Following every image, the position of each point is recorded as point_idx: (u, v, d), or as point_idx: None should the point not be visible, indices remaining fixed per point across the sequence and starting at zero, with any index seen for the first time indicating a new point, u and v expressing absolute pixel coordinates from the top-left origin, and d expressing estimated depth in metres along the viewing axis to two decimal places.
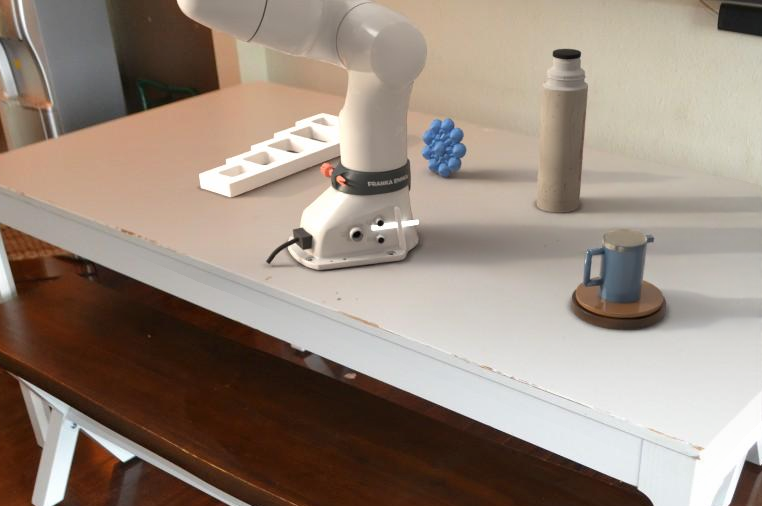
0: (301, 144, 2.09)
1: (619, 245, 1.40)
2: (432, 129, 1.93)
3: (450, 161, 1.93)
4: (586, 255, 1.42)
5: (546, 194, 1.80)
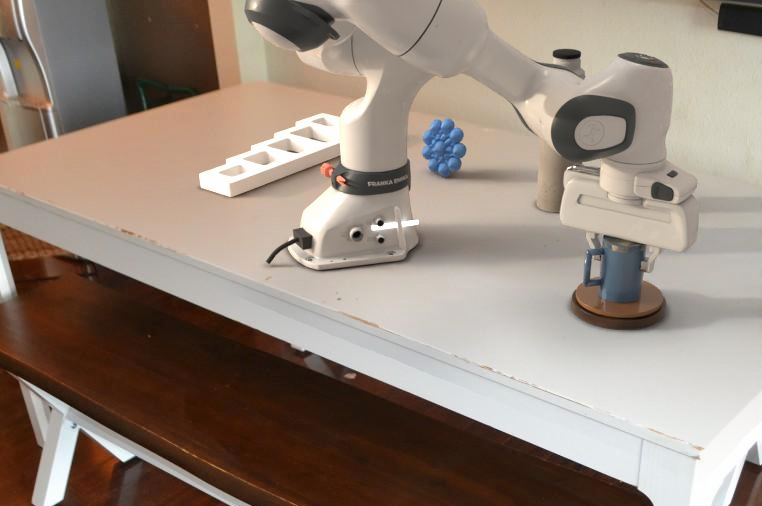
0: (301, 143, 2.09)
1: (619, 245, 1.40)
2: (432, 129, 1.93)
3: (450, 161, 1.93)
4: (586, 255, 1.42)
5: (546, 194, 1.80)
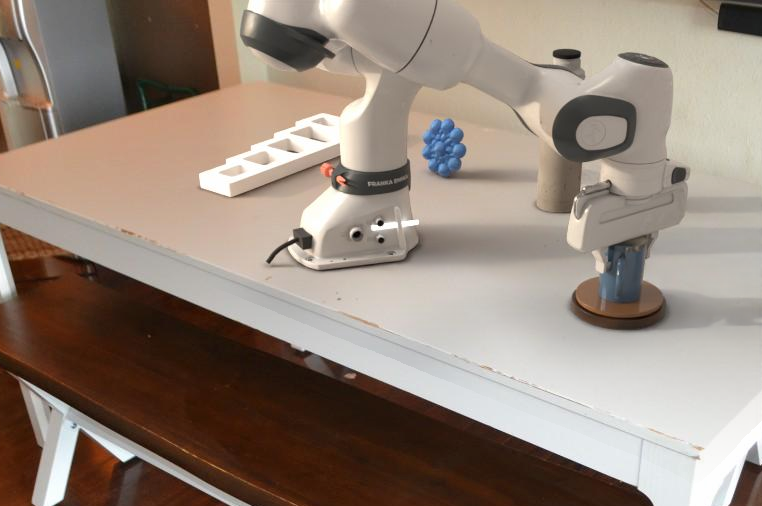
0: (301, 143, 2.09)
1: (642, 244, 1.40)
2: (432, 129, 1.93)
3: (450, 161, 1.93)
4: (622, 267, 1.39)
5: (546, 194, 1.80)
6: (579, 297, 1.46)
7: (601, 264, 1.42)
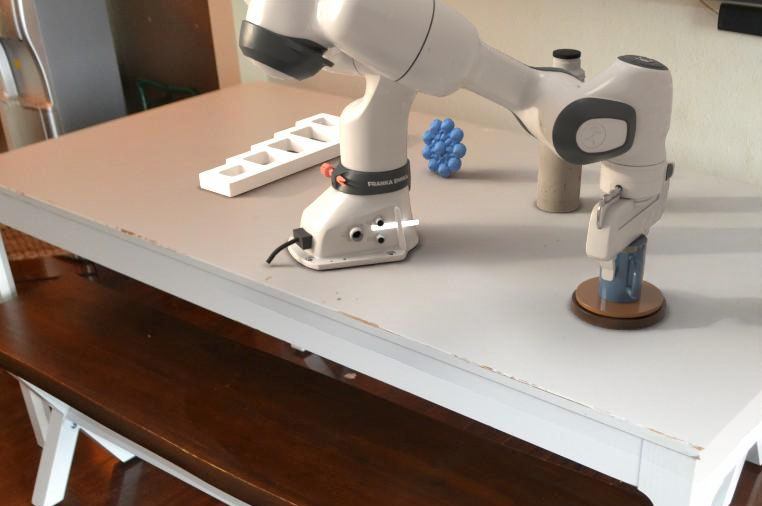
0: (301, 143, 2.09)
1: (646, 241, 1.41)
2: (432, 129, 1.93)
3: (450, 161, 1.93)
4: (640, 267, 1.39)
5: (546, 194, 1.80)
6: (588, 305, 1.44)
7: (609, 271, 1.40)
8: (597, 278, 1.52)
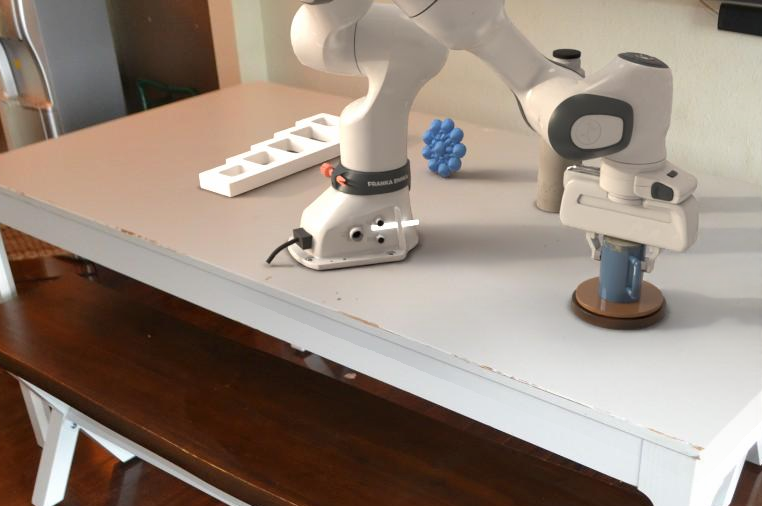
0: (301, 143, 2.09)
1: None
2: (432, 129, 1.93)
3: (450, 161, 1.93)
4: (640, 267, 1.39)
5: (546, 194, 1.80)
6: (589, 305, 1.44)
7: None
8: (597, 278, 1.52)
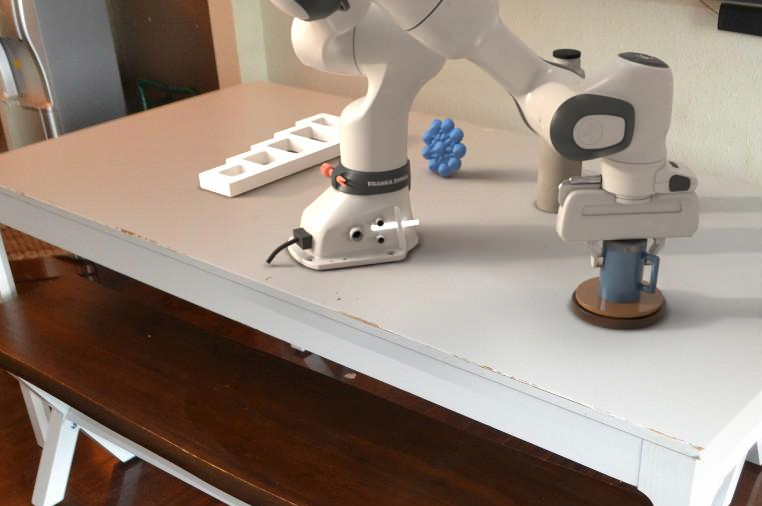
0: (301, 143, 2.09)
1: None
2: (432, 129, 1.93)
3: (450, 161, 1.93)
4: (659, 261, 1.41)
5: (546, 194, 1.80)
6: (613, 312, 1.42)
7: (592, 258, 1.43)
8: (582, 285, 1.50)
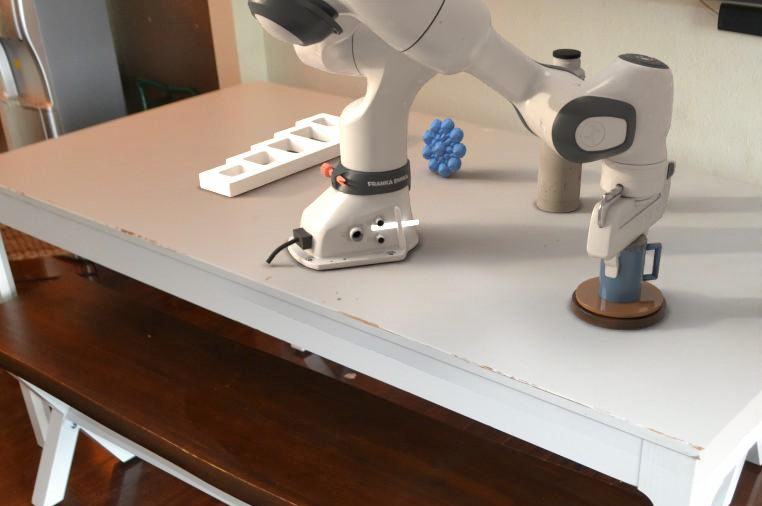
0: (301, 143, 2.09)
1: None
2: (432, 129, 1.93)
3: (450, 161, 1.93)
4: None
5: (546, 194, 1.80)
6: (650, 308, 1.43)
7: (613, 268, 1.41)
8: (586, 301, 1.45)
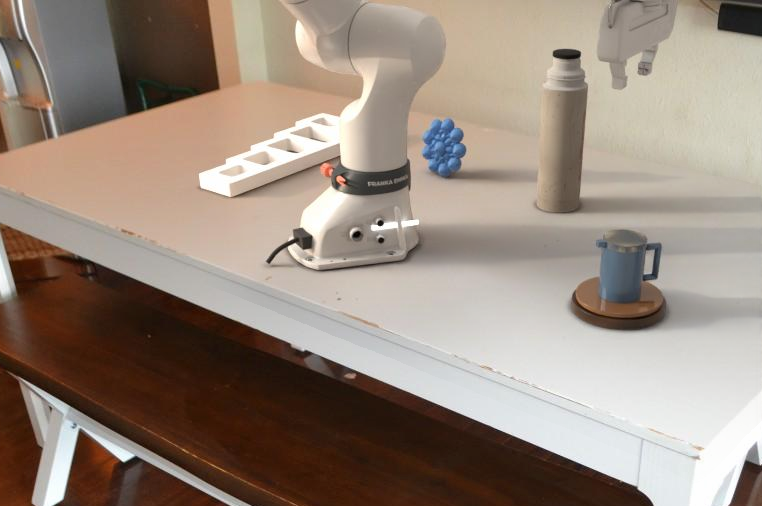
0: (301, 143, 2.09)
1: (630, 230, 1.45)
2: (432, 129, 1.93)
3: (450, 161, 1.93)
4: None
5: (546, 194, 1.80)
6: (650, 308, 1.43)
7: (619, 80, 1.43)
8: (586, 301, 1.45)
